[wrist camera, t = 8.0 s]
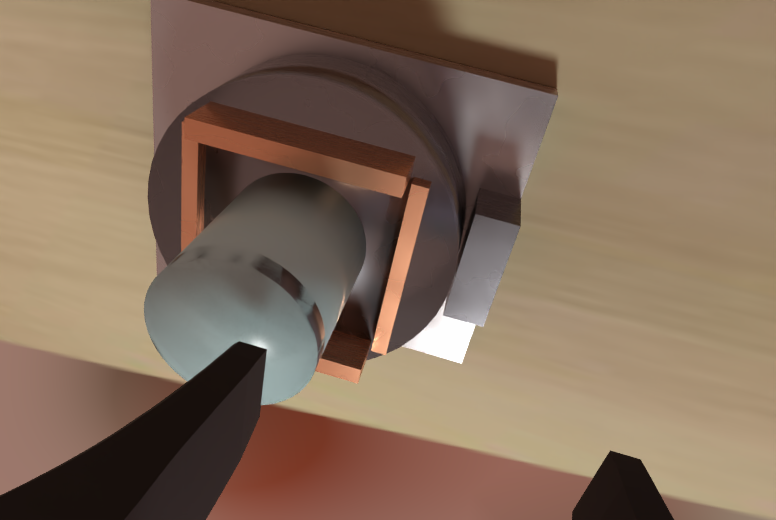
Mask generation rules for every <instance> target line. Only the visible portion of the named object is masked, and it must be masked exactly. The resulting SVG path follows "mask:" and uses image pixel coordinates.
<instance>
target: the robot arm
mask: <svg viewBox="0 0 776 520" xmlns="http://www.w3.org/2000/svg"><path fill="white" fill-rule="evenodd" d="M266 354H267V349H264V348H261V347H258V346H254V345H251V344H247V343H244V342H241V341H239V342H237V343H234V344H233V345H232V346H231V347H230V348H228V349H227V350H226V351H225V352H224V353H222V354H221V355H220V356H219V357H218V358H216V359H215V360H214V361H213V362H212V363H210V364H209V365H208V366H207V367H205V368H204V369H203V370H202V371H200V372H199V373H198V374H197V375H195V376H194V377H193V378H192V379H190V380H189V381H188V382H186V383H185V384H184V385H182V386H181V387H180V388H179V389H177V390H176V391H174V392H173V393H172V394H170V395H169V396H168V397H166V398H165V399H164V400H162V401H161V402H160V403H158V404H157V405H155V406H154V407H152V408H151V409H150V410H148V411H147V412H145V413H144V414H142V415H141V416H139V417H138V418H136V419H135V420H133V421H132V422H130V423H129V424H127V425H126V426H124V427H123V428H121V429H120V430H118V431H117V432H115V433H114V434H112V435H110V436H109V437H107V438H106V439H104V440H102V441H101V442H99V443H97V444H96V445H94V446H92V447H91V448H89V449H88V450H86V451H84V452H82V453H80V454H79V455H77V456H75V457H74V458H72V459H70V460H68V461H66V462H65V463H63V464H61V465H59V466H57V467H55V468H54V469H52V470H50V471H48V472H46V473H44V474H42V475H40V476H38V477H36V478H35V479H32V480H31V481H29V482H27V483H25V484H23V485H21V486H19V487H17V488H15V489H13V490H11V491H9V492H6V493H5V494H2V495H0V520H206V518H207V517H208V515H209V513H210V511H211V510H212V508H213V506H214V505H215V503H216V501H217V499H218V498H219V496H220V495H221V493H222V491H223V489H224V488H225V486H226V484H227V482H228V481H229V479H230V477H231V476H232V474H233V472H234V470H235V468H236V467H237V465H238V463H239V462H240V460H241V457H242V455H243V453H244V451H245V448H246V446H247V444H248V442H249V440H250V437H251V435H252V433H253V430H254V428H255V426H256V423H257V421H258V419H259V417H260V408H261V399H262V390H263V381H264V372H265V363H266ZM572 520H674V519H673V517H672V515H671V514H670V512H669V510H668V508H667V506H666V504H665V503H664V501H663V499H662V497H661V495H660V494H659V492H658V490H657V488H656V486H655V484H654V483H653V481H652V479H651V477H650V475H649V474H648V472H647V470H646V468H645V466H644V465H643V463H642V461H641V460H640V459H637V458H634V457H630V456H627V455H623V454H620V453H617V452H613V451H610V452H609V453H608V455H607V457H606V458H605V460H604V461H603V463H602V465H601V466H600V468H599V469H598V471H597V473H596V474H595V476H594V478H593V479H592V481H591V482H590V484H589V486H588V487H587V489H586V491H585V492H584V494H583V495H582V497H581V499H580V500H579V502H578V503H577V505H576V507H575V508H574V510H573V512H572Z"/></svg>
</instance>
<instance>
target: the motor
mask: <svg viewBox="0 0 776 520" xmlns="http://www.w3.org/2000/svg"><path fill="white" fill-rule="evenodd" d="M151 35H152V79H153V123H154V158H153V161H152V165H151V170H150V175H149V182H148V204H149V215H150V220H151V224H152V228H153V233H154V236H155V239H156V255H157V275H159V274H160V273H161V272H162V271H163V270H164V269H165V268H166V267H167V266H168V265H169V264H170V263H171V262H172V261H173V260H174V259H175V258H176V257H177V256H178V255H179V254H180V253H181V252H182V251H183V250H184V249H185V248H186V247H187V246H188V245H189V244H190V243H191V242H192V241H193V240H194V239H195V238H196V237H197V236H198V235H199V234H200V233H201V232H202V231H203V230H204V229H205V228H206V227H207V226H208V225H209V224H210V223H211V222H212V221H213V220H214V219H215V218H216V217H217V216H218V215H219V214H220V213H221V212H222V211H223V210H224V209H225V208H226V207H227V206H228V205H229V204H230V203H231V202H232V201H233V200H234V199H235V198H236V197H237V196H238V195H239V194H240V193H241V192H242V191H243V190H244V189H245V188H246V187H247V186H248V185H250V184H251V183H252V182H254V181H255V180H257V179H259V178H261V177H264V176H267V175H270V174H276V173H297V174H302V175H307V176H310V177H312V178H315V179H318V180H320V181H322V182H324V183H326V184H327V185H329V186H330V187H332V188H333V189H335V190H336V191H337V192H339V193H340V194H341V195H342V196H343V197H344V198H345V199H346V200H347V201H348V202H349V203H350V205H351V206H352V207H353V209H354V210H355V212H356V213H357V215H358V217H359V219H360V221H361V223H362V226H363V229H364V232H365V238H366V256H365V260H364V264H363V266H362V269H361V271H360V273H359V275H358V277H357V280H356V282H355V284H354V286H353V288H352V291H351V293H350V295H349V297H348V299H347V301H346V304H345V306H344V308H343V310H342V312H341V315H340V317H339V319H338V321H337V323H336V326H335V328H334V330H333V332H332V334H331V337H330V339H329V341H328V343H327V345H326V347H325V350H324V352H323V354H322V356H321V358H320V361H319V363H318V365H317V367H316V369H315V371H317V372H321V373H324V374H327V375H331V376H334V377H337V378H341V379H344V380H348V381H351V382H354V383H358V382H359V379H360V376H361V373H362V370H363V367H364V365H365V362H366V360H369V359H372V358H375V357H378V356H381V355H386V354H387V353H389V352H391V351H393V350H395V349H397V348H399V347H401V346H403V347H407V348H410V349H414V350H417V351H421V352H424V353H427V354H431V355H434V356H438V357H441V358H445V359H448V360H452V361H455V362H458V363H462V360H463V357H464V355H465V352H466V349H467V346H468V344H469V341H470V338H471V335H472V332H473V330H474V327H475V325H478V326H481V327H483V326H484V323H485V320H486V318H487V315H488V312H489V310H490V307H491V304H492V301H493V299H494V296H495V293H496V291H497V288H498V285H499V283H500V280H501V277H502V275H503V272H504V269H505V267H506V264H507V261H508V258H509V256H510V253H511V250H512V248H513V245H514V242H515V240H516V237H517V234H518V232H519V229H520V224H521V197H522V194H523V191H524V189H525V186H526V183H527V180H528V178H529V175H530V172H531V169H532V167H533V164H534V161H535V158H536V156H537V153H538V150H539V147H540V144H541V142H542V139H543V136H544V133H545V131H546V128H547V125H548V122H549V120H550V117H551V114H552V111H553V109H554V106H555V103H556V100H557V97H558V92H557V89H555V88H551V87H548V86H544V85H540V84H536V83H532V82H528V81H524V80H520V79H516V78H512V77H509V76H505V75H501V74H497V73H493V72H489V71H485V70H481V69H477V68H473V67H470V66H466V65H462V64H458V63H454V62H450V61H446V60H442V59H438V58H434V57H431V56H427V55H423V54H419V53H415V52H411V51H407V50H403V49H399V48H395V47H392V46H388V45H384V44H380V43H376V42H372V41H368V40H364V39H360V38H356V37H353V36H349V35H345V34H341V33H337V32H333V31H329V30H325V29H321V28H318V27H314V26H310V25H306V24H302V23H298V22H294V21H290V20H286V19H282V18H279V17H275V16H271V15H267V14H263V13H259V12H255V11H251V10H247V9H243V8H240V7H236V6H232V5H228V4H224V3H220V2H216V1H212V0H151Z"/></svg>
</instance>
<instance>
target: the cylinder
mask: <svg viewBox="0 0 776 520" xmlns="http://www.w3.org/2000/svg"><path fill="white" fill-rule="evenodd" d="M365 256H366V238H365V232H364V229H363V226H362V223H361V221H360V219H359V217H358V215H357V213H356V212H355V210H354V209H353V207H352V206H351V205H350V203H349V202H348V201H347V200H346V199H345V198H344V197H343V196H342V195H341V194H340V193H339V192H337V191H336V190H335V189H333V188H332V187H330V186H329V185H327V184H326V183H324V182H322V181H320V180H318V179H315V178H312V177H310V176H307V175H302V174H297V173H276V174H270V175H267V176H264V177H261V178H259V179H257V180H255V181H254V182H252V183H251V184H250V185H248V186H247V187H246V188H245V189H244V190H243V191H242V192H241V193H240V194H239V195H238V196H237V197H236V198H235V199H234V200H233V201H232V202H231V203H230V204H229V205H228V206H227V207H226V208H225V209H224V210H223V211H222V212H221V213H220V214H219V215H218V216H217V217H216V218H215V219H214V220H213V221H212V222H211V223H210V224H209V225H208V226H207V227H206V228H205V229H204V230H203V231H202V232H201V233H200V234H199V235H198V236H197V237H196V238H195V239H194V240H193V241H192V242H191V243H190V244H189V245H188V246H187V247H186V248H185V249H184V250H183V251H182V252H181V253H180V254H179V255H178V256H177V257H176V258H175V259H174V260H173V261H172V262H171V263H170V264H169V265H168V266H167V267H166V268H165V269H164V270H163V271H162V272H161V273H160V274H159V275H158V276H157V277H156V278H155V279H154V280H153V282H152V283H151V285H150V286H149V289H148V291H147V294H146V298H145V302H144V316H145V323H146V326H147V330H148V333H149V335H150V338H151V340H152V342H153V344H154V346H155V347H156V349H157V351H158V352H159V353H160V355H161V356H162V358H163V359H164V360H165V361H166V362H167V364H168V365H169V366H170V367H171V368H172V369H173V370H174V371H175V372H176V373H177V374H179V375H180V376H181V377H182V378H184V379H185V380H186V381H189V380H190V379H192V378H193V377H194V376H195V375H197V374H198V373H199V372H200V371H202V370H203V369H204V368H205V367H207V366H208V365H209V364H210V363H212V362H213V361H214V360H215V359H216V358H218V357H219V356H220V355H221V354H222V353H224V352H225V351H226V350H227V349H228V348H230V347H231V346H232V345H233V344H234V343H237V342H239V341H241V342H244V343H247V344H251V345H254V346H258V347H261V348H264V349H267V354H266V363H265V372H264V381H263V390H262V399H261V405H268V404H273V403H278V402H281V401H284V400H286V399H289V398H291V397H293V396H294V395H296V394H297V393H299V392H300V391H301V390H302V389H303V388H304V387H305V386H306V385H307V384H308V382H309V381H310V380H311V378H312V376H313V374H314V372H315V369H316V367H317V365H318V363H319V361H320V358H321V356H322V354H323V352H324V350H325V347H326V345H327V343H328V341H329V339H330V337H331V334H332V332H333V330H334V328H335V326H336V323H337V321H338V319H339V317H340V315H341V312H342V310H343V308H344V306H345V304H346V301H347V299H348V297H349V295H350V293H351V291H352V288H353V286H354V284H355V282H356V280H357V277H358V275H359V273H360V271H361V269H362V266H363V264H364V260H365Z"/></svg>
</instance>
